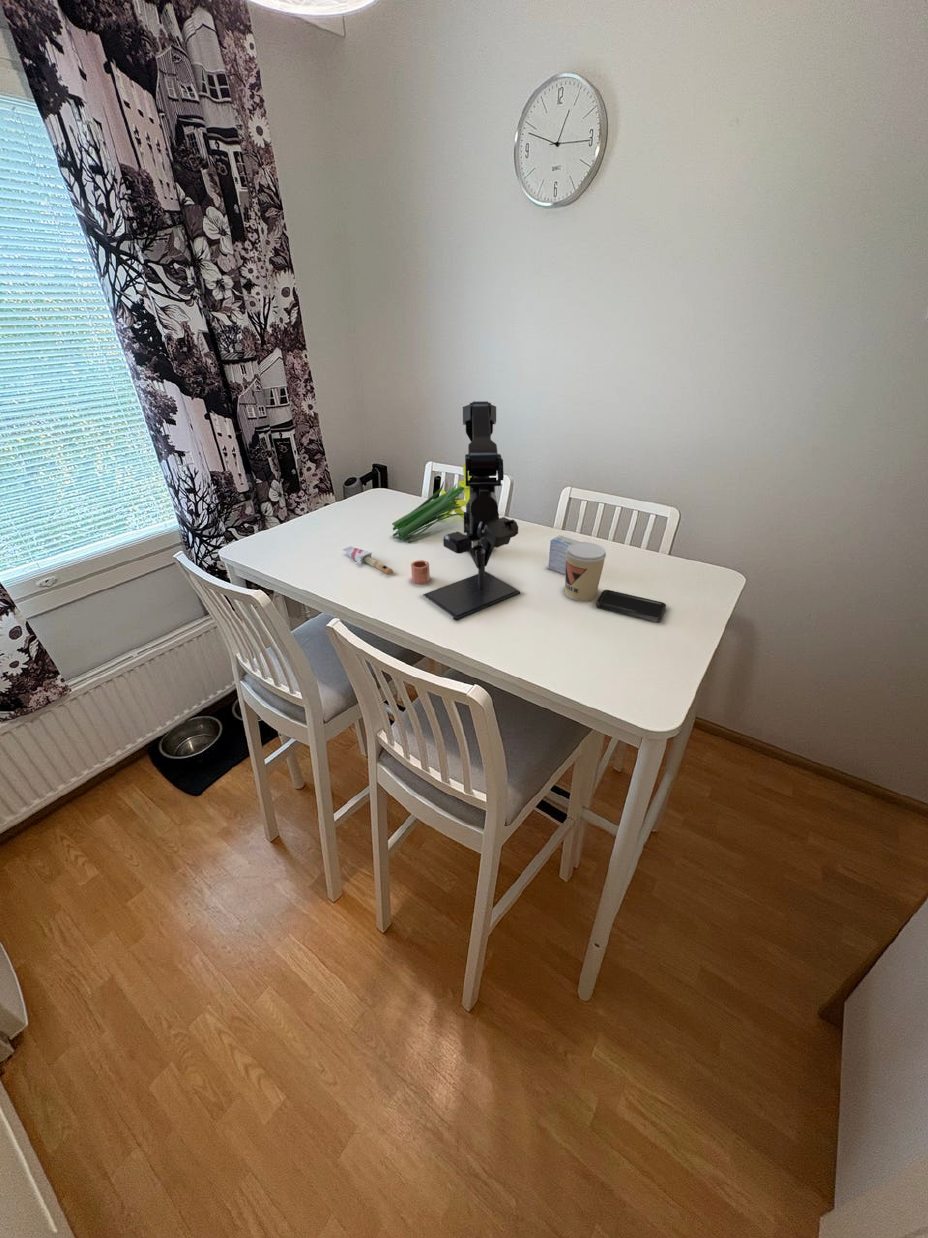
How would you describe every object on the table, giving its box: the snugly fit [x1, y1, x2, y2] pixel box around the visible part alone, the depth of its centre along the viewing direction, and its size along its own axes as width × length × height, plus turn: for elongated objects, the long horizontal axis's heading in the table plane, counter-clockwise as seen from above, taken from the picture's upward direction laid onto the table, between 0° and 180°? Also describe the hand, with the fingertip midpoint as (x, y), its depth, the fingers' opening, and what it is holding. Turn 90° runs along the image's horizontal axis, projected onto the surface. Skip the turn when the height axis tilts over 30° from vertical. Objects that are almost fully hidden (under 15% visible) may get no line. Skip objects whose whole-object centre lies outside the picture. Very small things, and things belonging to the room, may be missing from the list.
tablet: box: [422, 571, 521, 622], centre depth 122 cm, size 20×14×1 cm
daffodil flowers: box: [391, 461, 471, 543], centre depth 156 cm, size 17×15×35 cm
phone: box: [595, 589, 667, 623], centre depth 116 cm, size 8×1×15 cm
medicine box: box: [547, 534, 581, 575], centre depth 131 cm, size 8×4×9 cm, turn 47°
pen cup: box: [410, 559, 431, 585], centre depth 127 cm, size 5×5×5 cm
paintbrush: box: [342, 546, 394, 575], centre depth 137 cm, size 4×3×20 cm
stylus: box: [477, 549, 486, 589], centre depth 120 cm, size 2×2×10 cm
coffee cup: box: [564, 541, 607, 602], centre depth 119 cm, size 9×9×12 cm
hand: (481, 567), depth 120 cm, fingers closed on stylus, 1 cm apart
